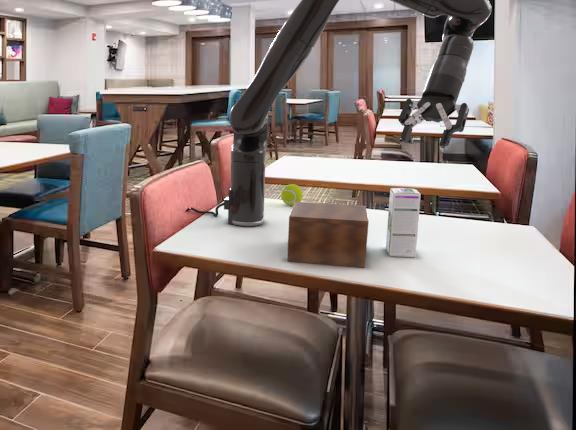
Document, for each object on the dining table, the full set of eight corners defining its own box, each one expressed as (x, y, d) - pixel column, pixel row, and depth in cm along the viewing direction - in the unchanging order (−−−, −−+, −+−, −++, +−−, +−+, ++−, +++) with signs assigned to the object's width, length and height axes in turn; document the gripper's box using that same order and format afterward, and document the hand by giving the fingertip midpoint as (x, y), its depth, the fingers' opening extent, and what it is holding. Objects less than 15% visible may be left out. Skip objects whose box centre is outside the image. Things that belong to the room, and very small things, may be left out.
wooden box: (287, 261, 116) (289, 216, 114) (293, 242, 130) (295, 201, 128) (364, 267, 112) (368, 221, 110) (362, 247, 126) (365, 205, 124)
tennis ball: (278, 206, 168) (278, 185, 166) (283, 202, 174) (284, 181, 172) (299, 208, 165) (300, 186, 163) (304, 204, 171) (305, 183, 169)
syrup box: (416, 257, 119) (422, 193, 115) (387, 256, 120) (393, 192, 116) (411, 250, 124) (417, 188, 121) (384, 248, 125) (389, 187, 122)
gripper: (410, 70, 127) (387, 134, 126) (474, 73, 117) (450, 142, 116) (419, 85, 132) (397, 146, 131) (481, 89, 123) (459, 155, 122)
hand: (422, 144), depth 124 cm, fingers open, 8 cm apart
